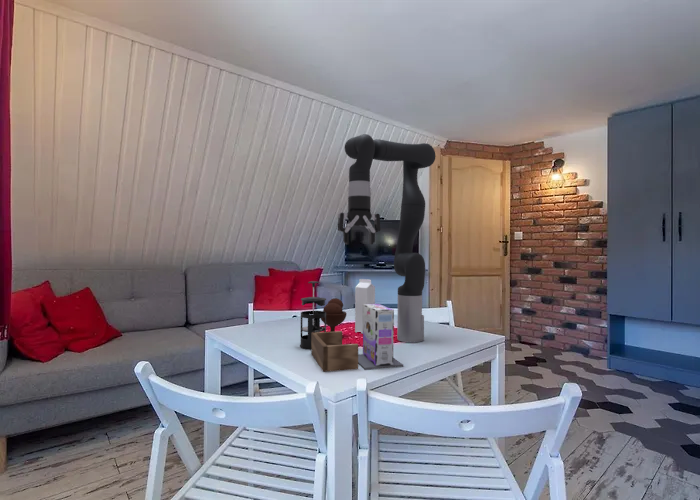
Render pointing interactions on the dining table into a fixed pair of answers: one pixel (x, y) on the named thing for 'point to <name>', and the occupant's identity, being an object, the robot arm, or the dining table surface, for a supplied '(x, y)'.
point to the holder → (333, 351)
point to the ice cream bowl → (334, 313)
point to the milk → (363, 301)
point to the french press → (312, 319)
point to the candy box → (378, 334)
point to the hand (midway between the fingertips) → (359, 244)
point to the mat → (368, 365)
